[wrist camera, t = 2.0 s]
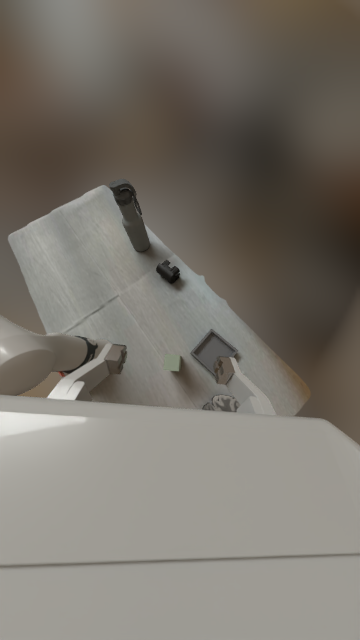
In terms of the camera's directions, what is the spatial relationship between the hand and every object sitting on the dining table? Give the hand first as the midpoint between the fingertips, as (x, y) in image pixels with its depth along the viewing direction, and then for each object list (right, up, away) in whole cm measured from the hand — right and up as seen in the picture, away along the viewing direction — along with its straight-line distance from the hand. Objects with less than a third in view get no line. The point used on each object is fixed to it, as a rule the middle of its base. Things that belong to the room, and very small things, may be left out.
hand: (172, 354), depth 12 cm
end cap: (-5, +26, +57) cm, 63 cm away
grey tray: (+15, -11, +44) cm, 47 cm away
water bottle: (-21, +47, +65) cm, 83 cm away
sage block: (-1, -15, +43) cm, 46 cm away
